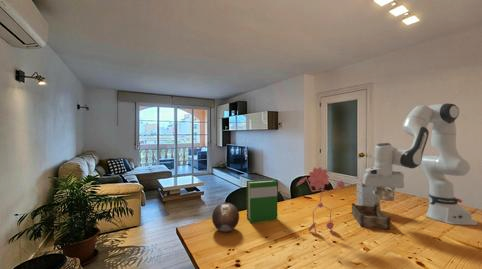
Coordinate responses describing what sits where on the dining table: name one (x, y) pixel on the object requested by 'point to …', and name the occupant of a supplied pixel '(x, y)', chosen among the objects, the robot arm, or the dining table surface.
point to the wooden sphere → (225, 217)
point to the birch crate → (384, 193)
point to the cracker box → (366, 195)
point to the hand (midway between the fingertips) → (382, 194)
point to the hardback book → (261, 200)
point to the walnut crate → (370, 217)
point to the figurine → (319, 180)
